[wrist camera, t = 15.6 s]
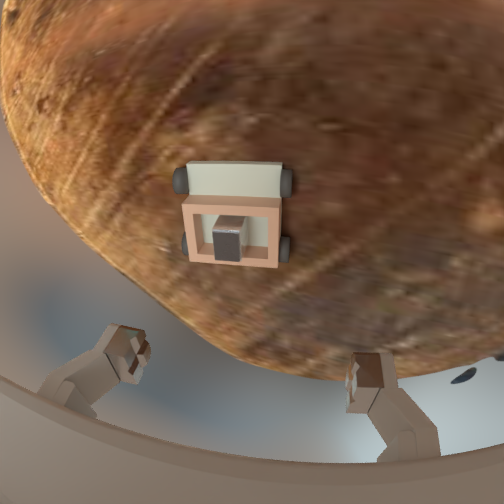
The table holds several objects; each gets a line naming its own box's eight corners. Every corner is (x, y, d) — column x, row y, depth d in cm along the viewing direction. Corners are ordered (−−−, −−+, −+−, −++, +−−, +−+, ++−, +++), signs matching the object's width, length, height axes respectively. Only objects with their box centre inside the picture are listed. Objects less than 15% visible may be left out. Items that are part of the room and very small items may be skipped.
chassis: (180, 161, 47) (168, 171, 43) (292, 162, 45) (291, 173, 40) (191, 249, 56) (182, 265, 52) (289, 256, 53) (287, 274, 49)
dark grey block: (222, 210, 49) (210, 230, 44) (247, 211, 48) (239, 232, 43) (224, 238, 52) (213, 261, 46) (248, 240, 51) (240, 263, 46)
